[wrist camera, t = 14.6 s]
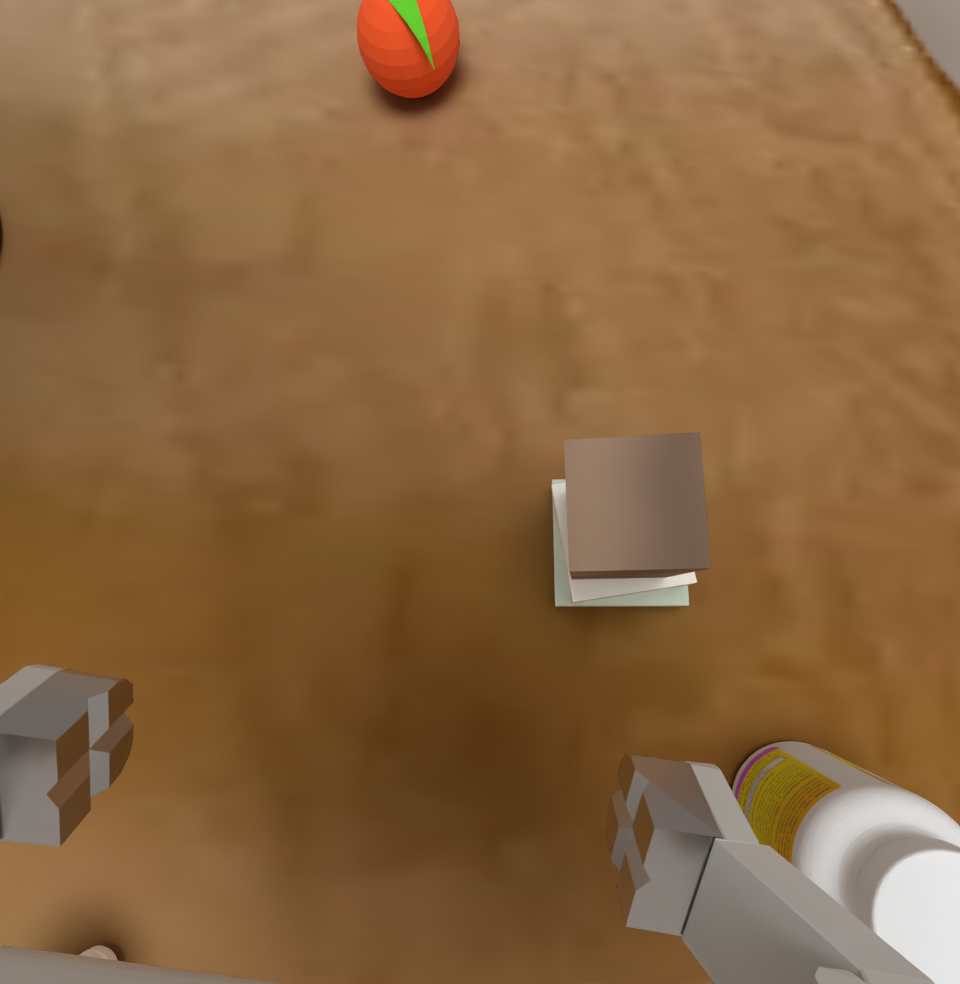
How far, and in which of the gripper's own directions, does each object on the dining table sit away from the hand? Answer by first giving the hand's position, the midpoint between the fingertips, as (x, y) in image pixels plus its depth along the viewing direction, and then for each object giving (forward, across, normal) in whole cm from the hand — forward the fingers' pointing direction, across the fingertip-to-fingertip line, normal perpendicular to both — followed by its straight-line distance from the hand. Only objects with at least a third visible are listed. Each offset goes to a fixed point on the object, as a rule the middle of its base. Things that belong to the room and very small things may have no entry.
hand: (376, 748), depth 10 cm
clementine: (+42, +7, -23) cm, 48 cm away
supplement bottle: (+18, -20, +14) cm, 31 cm away
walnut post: (+20, -8, +2) cm, 22 cm away
